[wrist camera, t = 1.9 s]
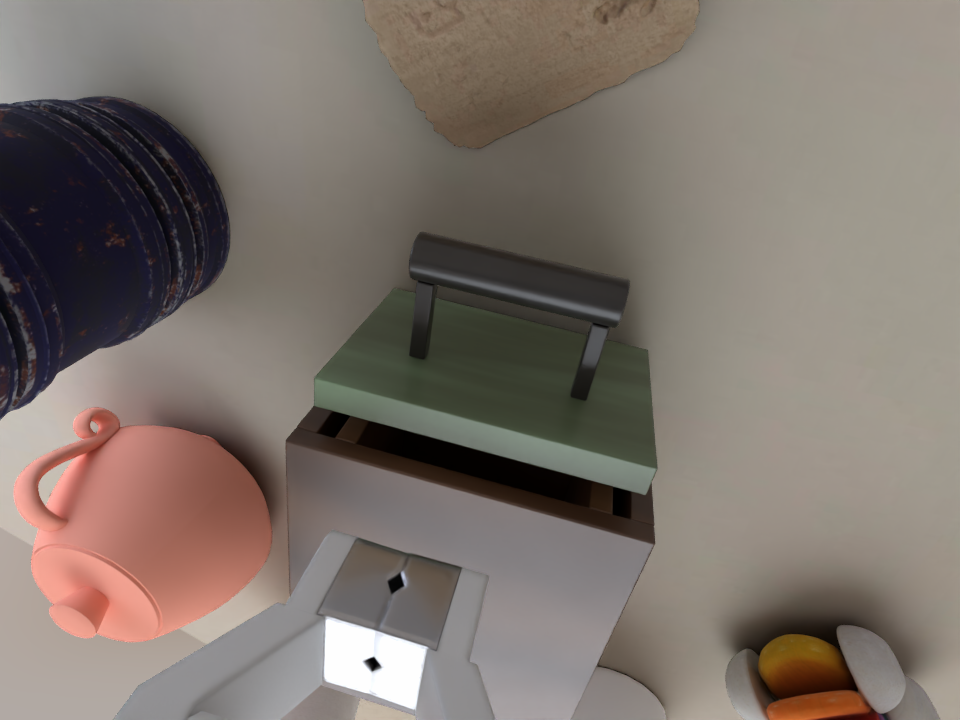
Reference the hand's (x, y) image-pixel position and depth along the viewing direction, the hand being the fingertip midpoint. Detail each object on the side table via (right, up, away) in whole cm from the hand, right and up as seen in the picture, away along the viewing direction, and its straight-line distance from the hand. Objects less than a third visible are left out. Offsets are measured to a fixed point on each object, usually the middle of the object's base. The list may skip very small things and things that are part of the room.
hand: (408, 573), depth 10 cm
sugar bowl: (-17, -3, +26) cm, 31 cm away
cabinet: (+2, -2, +20) cm, 20 cm away
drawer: (+2, +2, +17) cm, 17 cm away
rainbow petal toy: (+21, -14, +22) cm, 33 cm away
